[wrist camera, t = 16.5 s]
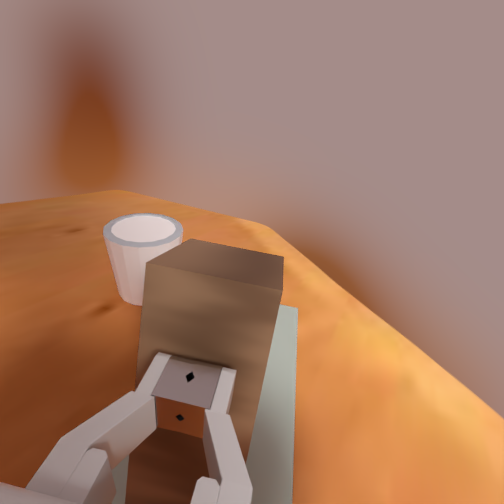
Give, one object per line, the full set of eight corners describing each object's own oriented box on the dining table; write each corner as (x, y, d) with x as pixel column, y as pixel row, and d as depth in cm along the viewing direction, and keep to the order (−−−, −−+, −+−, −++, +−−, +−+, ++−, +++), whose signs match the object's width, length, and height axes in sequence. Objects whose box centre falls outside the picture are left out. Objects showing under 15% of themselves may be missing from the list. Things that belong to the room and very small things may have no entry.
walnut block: (124, 509, 13) (145, 262, 10) (167, 422, 18) (190, 238, 15) (230, 538, 13) (282, 290, 10) (245, 441, 18) (283, 256, 15)
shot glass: (183, 269, 33) (184, 213, 30) (181, 309, 27) (181, 247, 24) (120, 268, 32) (112, 210, 28) (103, 311, 26) (91, 245, 22)
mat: (45, 557, 13) (42, 553, 13) (193, 290, 30) (193, 286, 30) (286, 627, 12) (288, 624, 12) (296, 311, 29) (297, 308, 29)
